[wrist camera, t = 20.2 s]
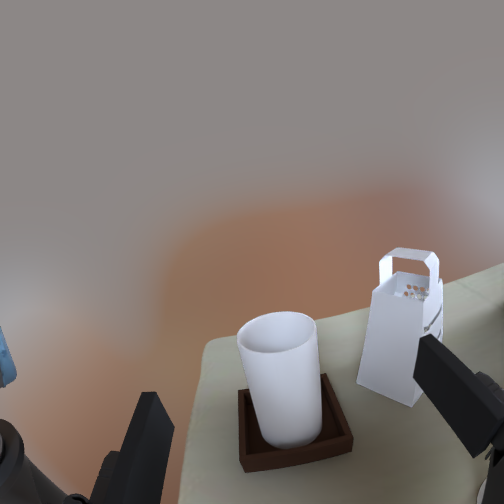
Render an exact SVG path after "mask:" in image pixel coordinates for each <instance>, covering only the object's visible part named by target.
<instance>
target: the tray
mask: <svg viewBox="0 0 504 504" xmlns="http://www.w3.org/2000/svg"><path fill="white" fill-rule="evenodd" d="M320 382H321V403H322V429H321V432H320V433H319V435H318V436H317V438H316V439H315V440H313V441H312V442H311V443H309V444H307V445H305V446H300V447H295V448H290V449H280V448H277V447H274V446H272V445H270V444H269V443H267V442H266V441H265V439H264V438H263V436H262V433H261V430H260V427H259V423H258V419H257V416H256V412H255V409H254V405H253V401H252V398H251V394H250V390H249V389H243V390H238V414H239V461H240V463H241V465H242V467H243V469H244V472H245V473H248V472H257V471H265V470H272V469H279V468H285V467H290V466H296V465H301V464H305V463H310V462H314V461H319V460H323V459H327V458H330V457H334V456H338V455H341V454H345V453H348V452H351V451H352V446H353V435H352V433H351V431H350V428H349V426H348V423H347V421H346V419H345V416H344V414H343V412H342V409H341V407H340V405H339V402H338V400H337V397H336V395H335V393H334V390H333V388H332V386H331V384H330V381H329V379H328V377H327V374H326V373H324V374H320Z"/></svg>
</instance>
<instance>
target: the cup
mask: <svg viewBox="0 0 504 504" xmlns="http://www.w3.org/2000/svg"><path fill="white" fill-rule="evenodd" d="M237 344H238V348H239V352H240V356H241V360H242V364H243V367H244V371H245V375H246V379H247V383H248V386H249V390H250V394H251V398H252V401H253V405H254V409H255V412H256V416H257V419H258V423H259V427H260V430H261V433H262V436H263V438H264V439H265V441H266V442H267V443H269V444H270V445H272V446H274V447H277V448H280V449H290V448H295V447H300V446H305V445H307V444H309V443H311V442H312V441H313V440H315V439H316V438H317V436H318V435H319V433H320V432H321V429H322V403H321V382H320V366H319V351H318V339H317V328H316V324H315V322H314V320H313V319H311V318H310V317H309V316H307V315H305V314H302V313H297V312H274V313H269V314H265V315H262V316H259V317H257V318H254V319H252V320H251V321H249V322H247V323H246V324H245V325H244V326H242V327H241V329H240V330H239V332H238V334H237Z"/></svg>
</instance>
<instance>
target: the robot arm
mask: <svg viewBox="0 0 504 504" xmlns="http://www.w3.org/2000/svg"><path fill="white" fill-rule="evenodd" d="M16 376H17V373H16V368H15V365H14V362H13V360H12V357H11V354H10V352H9V349H8V346H7V344H6V341H5V338H4V335H3V333H2V330H1V327H0V388H1V387H3V388H4V387H6V385H7V384H9V383H10V382H12V381H14V380H15V379H16ZM413 379H414V380H415V381H416V383H417V384H418V385H419V386H420V388H421V389H422V390H423V391H424V393H425V394H426V395H427V397H428V398H429V399H430V400H431V402H432V403H433V404H434V406H435V407H436V408H437V410H438V411H439V412H440V414H441V415H442V416H443V418H444V419H445V420H446V422H447V423H448V424H449V426H450V427H451V428H452V430H453V431H454V432H455V434H456V435H457V437H458V438H459V439H460V441H461V442H462V443H463V445H464V446H465V448H466V449H467V450H468V452H469V453H470V455H471V456H472V458H473V459H474V458H475V457H476V456H478V455H479V454H481V453H482V452H483V451H485V450H486V448H487V447H488V446H489V444H490V443H492V445H493V447H492V448H491V449H490V451H489V452H488V454H487V455H486V457H485V460H487V458H488V457H489V456H490V459H489V460H490V463H489V469H488V475H487V480H486V485H485V490H484V495H483V499H482V503H481V504H504V390H503V389H502V388H500V386H499V385H498V384H497V383H495V381H494V380H493V379H492V378H490V377H489V376H488V375H486V374H484V373H482V372H478V373H476V374H474V373H473V372H472V371H471V370H470V369H469V368H468V367H467V366H466V365H465V364H464V363H462V362H461V361H460V360H459V359H458V358H457V357H456V356H455V355H454V354H453V353H452V352H451V351H450V350H449V349H448V348H446V347H445V346H444V345H443V344H442V343H441V342H440V341H439V340H438V339H437V338H436V337H434V336H433V335H432V334H428V335H425V336H423V337H420V338H419V345H418V351H417V357H416V362H415V368H414V373H413ZM174 428H175V427H174V425H173V423H172V421H171V420H170V418H169V416H168V414H167V413H166V410H165V408H164V407H163V405H162V403H161V401H160V399H159V397H158V395H157V393H156V392H142V393H141V396H140V398H139V401H138V403H137V406H136V409H135V411H134V414H133V417H132V419H131V422H130V425H129V427H128V430H127V433H126V436H125V439H124V441H123V444H122V447H121V450H120V452H118V451H110V453H109V454H108V455H107V456H106V457H105V458H104V461H103V463H102V466H101V469H100V471H99V476H98V477H97V480H96V482H95V485H94V488H93V491H92V494H91V497H90V500H88V499H87V498H86V497H84V496H83V495H81V494H71V495H69V496H67V497H66V498H65V500H64V501H63V504H160V501H161V495H162V489H163V484H164V478H165V473H166V467H167V462H168V457H169V452H170V447H171V442H172V437H173V432H174ZM4 453H5V441H4V438H3V436H2V435H1V434H0V464H1V462H2V460H3V457H4ZM490 454H491V455H490ZM46 504H51V503H46Z"/></svg>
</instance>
